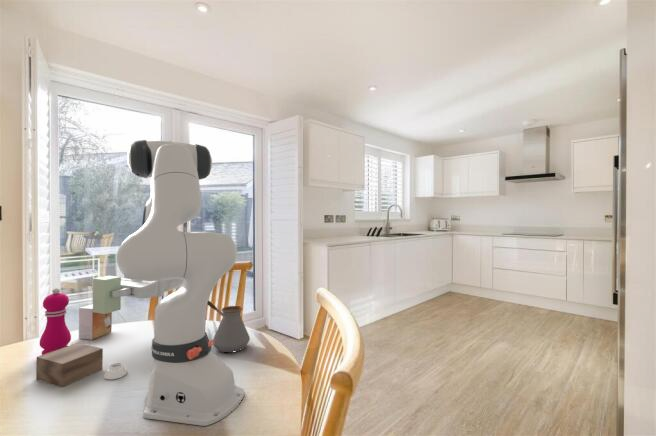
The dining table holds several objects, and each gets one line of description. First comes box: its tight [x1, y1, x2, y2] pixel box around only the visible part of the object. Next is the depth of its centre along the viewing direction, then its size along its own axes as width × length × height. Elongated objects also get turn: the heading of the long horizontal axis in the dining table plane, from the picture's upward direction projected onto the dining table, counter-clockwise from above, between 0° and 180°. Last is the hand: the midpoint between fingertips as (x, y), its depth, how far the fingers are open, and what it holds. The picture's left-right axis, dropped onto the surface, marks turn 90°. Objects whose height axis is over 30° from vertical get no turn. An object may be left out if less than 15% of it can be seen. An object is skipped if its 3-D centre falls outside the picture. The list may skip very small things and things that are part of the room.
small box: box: [78, 303, 113, 340], centre depth 114 cm, size 8×6×10 cm
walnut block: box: [35, 342, 104, 388], centre depth 87 cm, size 10×10×6 cm
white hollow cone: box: [103, 362, 128, 381], centre depth 87 cm, size 5×3×5 cm
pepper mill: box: [39, 287, 72, 355], centre depth 98 cm, size 7×7×20 cm
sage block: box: [92, 275, 122, 314], centre depth 98 cm, size 5×5×10 cm
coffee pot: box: [207, 300, 251, 353], centre depth 108 cm, size 21×12×15 cm, turn 60°
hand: (104, 293), depth 98 cm, fingers closed on sage block, 5 cm apart
